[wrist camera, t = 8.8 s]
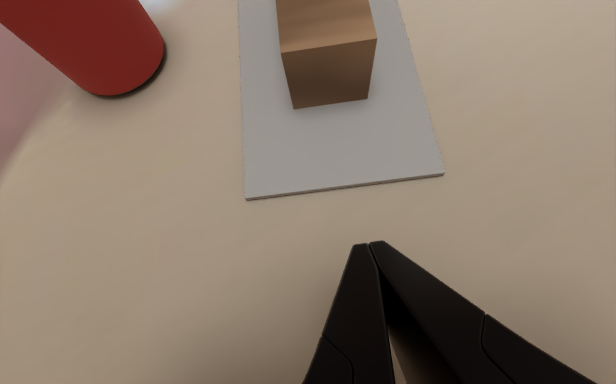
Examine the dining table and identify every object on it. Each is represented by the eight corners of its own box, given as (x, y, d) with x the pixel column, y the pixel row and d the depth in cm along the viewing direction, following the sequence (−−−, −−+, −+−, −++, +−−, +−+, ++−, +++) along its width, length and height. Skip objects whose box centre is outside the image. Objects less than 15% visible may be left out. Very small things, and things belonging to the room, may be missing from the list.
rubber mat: (442, 175, 16) (445, 172, 16) (246, 200, 17) (244, 198, 16) (384, -37, 22) (385, -43, 21) (238, -13, 22) (237, -18, 22)
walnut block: (377, 38, 13) (345, -97, 17) (280, 53, 14) (267, -84, 17) (367, 98, 18) (343, -19, 21) (293, 109, 18) (281, -9, 21)
